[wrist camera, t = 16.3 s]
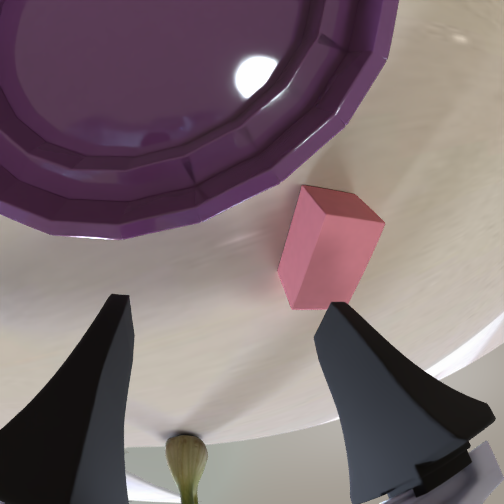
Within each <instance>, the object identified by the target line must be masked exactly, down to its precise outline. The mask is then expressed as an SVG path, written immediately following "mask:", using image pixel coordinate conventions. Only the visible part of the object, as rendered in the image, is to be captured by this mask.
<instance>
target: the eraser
mask: <svg viewBox="0 0 504 504" xmlns="http://www.w3.org/2000/svg"><path fill="white" fill-rule="evenodd" d="M384 226H385V222H384V221H383V220H382V219H381V218H380V217H379V216H378V215H377V214H376V213H375V212H374V211H373V210H372V209H370V208H369V207H368V206H367V205H366V204H365V203H364V202H363V201H362V200H361V199H360V198H359V197H358V196H357V195H355V194H351V193H346V192H341V191H335V190H330V189H324V188H318V187H312V186H306V185H302V187H301V190H300V194H299V198H298V201H297V205H296V208H295V212H294V215H293V219H292V222H291V226H290V229H289V233H288V236H287V240H286V243H285V246H284V250H283V253H282V257H281V260H280V263H279V267H278V270H277V271H278V274H279V277H280V279H281V282H282V285H283V288H284V290H285V293H286V296H287V298H288V301H289V304H290V307H291V309H292V310H322V309H328V307H329V305H330V303H331V302H346V303H347V304H348V303H349V301H350V299H351V297H352V295H353V293H354V291H355V289H356V287H357V285H358V283H359V281H360V279H361V277H362V275H363V273H364V271H365V269H366V266H367V264H368V262H369V260H370V258H371V256H372V253H373V251H374V249H375V247H376V244H377V242H378V240H379V238H380V235H381V233H382V231H383V228H384Z"/></svg>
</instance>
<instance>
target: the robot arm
mask: <svg viewBox="0 0 504 504" xmlns="http://www.w3.org/2000/svg"><path fill="white" fill-rule="evenodd" d="M314 341H315V346H316V351H317V355H318V359H319V362H320V365H321V368H322V370H323V373H324V376H325V378H326V381H327V384H328V386H329V389H330V391H331V394H332V397H333V399H334V402H335V405H336V408H337V411H338V414H339V417H340V422H341V425H342V430H343V434H344V440H345V446H346V451H347V457H348V466H349V475H350V498H351V501H352V504H361V503H363V502H367V501H369V500H372V499H375V498H378V497H380V496H382V495H385V494H388V497H389V499H388V500H386V501H384V502H382V503H379V504H483V502H484V501H485V500H486V498H487V497H488V496H489V495H490V494H491V493H492V492H493V490H494V489H495V488H496V487H497V486H498V485H499V484H500V483H501V482H502V481H503V480H504V477H503V474H502V472H501V470H500V468H499V465H498V463H497V460H496V458H495V456H494V454H493V451H492V449H491V447H490V445H489V443H488V441H485V442H483V443H482V444H480V445H479V446H477V447H476V448H474V449H473V450H472V451H471V452H469V453H468V451H467V449H468V448H470V446H471V445H470V443H469V440H470V439H471V438H473V437H475V436H476V435H477V434H479V433H480V432H481V431H483V430H484V429H485V428H487V427H488V426H489V425H490V424H492V423H493V422H494V421H495V419H496V418H495V416H494V414H493V412H492V411H491V409H490V407H489V406H488V404H487V403H484V402H481V401H479V400H476V399H474V398H471V397H469V396H466V395H464V394H462V393H460V392H458V391H456V390H454V389H452V388H450V387H449V386H447V385H445V384H443V383H442V382H440V381H439V380H437V379H435V378H434V377H432V376H431V375H429V374H428V373H426V372H425V371H423V370H422V369H421V368H419V367H418V366H417V365H415V364H414V363H413V362H411V361H410V360H409V359H408V358H406V357H405V356H404V355H403V354H402V353H400V352H399V351H398V350H397V349H396V348H395V347H393V346H392V345H391V344H390V343H389V342H388V341H387V340H386V339H385V338H384V337H382V336H381V335H380V334H379V333H378V332H377V331H376V330H375V329H374V328H373V327H372V326H371V325H370V324H369V323H368V322H367V321H366V320H364V319H363V318H362V317H361V316H360V315H359V314H358V313H357V312H356V311H355V310H354V309H353V308H351V307H350V306H349V305H348V304H347V303H346V302H331V303H330V305H329V307H328V309H327V311H326V313H325V316H324V318H323V320H322V322H321V324H320V326H319V328H318V330H317V332H316V334H315V336H314ZM133 349H134V329H133V322H132V314H131V306H130V298H129V295H119V294H111V295H110V296H109V297H108V299H107V301H106V302H105V304H104V306H103V307H102V309H101V310H100V312H99V314H98V315H97V317H96V318H95V320H94V321H93V323H92V324H91V326H90V327H89V329H88V330H87V332H86V333H85V334H84V336H83V337H82V339H81V340H80V342H79V343H78V345H77V346H76V347H75V349H74V350H73V351H72V353H71V354H70V355H69V357H68V358H67V359H66V361H65V362H64V363H63V365H62V366H61V367H60V369H59V370H58V371H57V372H56V374H55V375H54V376H53V377H52V378H51V379H50V381H49V382H48V383H47V384H46V385H45V386H44V388H43V389H42V390H41V391H40V392H39V393H38V394H37V395H36V396H35V397H34V399H33V400H32V401H31V402H30V403H29V404H28V405H27V406H26V407H25V408H24V409H23V410H22V411H20V412H19V413H18V414H17V415H16V416H15V417H14V418H13V419H12V420H11V421H10V422H9V423H8V424H7V425H5V426H4V427H3V428H2V429H1V430H0V504H129V503H128V495H127V486H126V476H125V461H124V417H125V409H126V401H127V394H128V388H129V381H130V375H131V369H132V363H133Z"/></svg>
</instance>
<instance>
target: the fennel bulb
mask: <svg viewBox="0 0 504 504" xmlns="http://www.w3.org/2000/svg"><path fill="white" fill-rule="evenodd" d="M165 454H166V459H167V463H168V466H169V470H170V472H171V475H172V477H173V479H174V481H175V483H176V486H177V488H178V490H179V493H180V497H181V504H198V498H197V487H198V483H199V480H200V478H201V476H202V474H203V471H204V469H205V465H206V462H207V458H208V452H207V449H206V446H205V444H204V443H203V441H201V440H200V439H199V438H198V437H195V436H189V435H179V436H176V437H173V438H169V439H168V440H167V442H166V451H165Z"/></svg>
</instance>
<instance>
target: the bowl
mask: <svg viewBox="0 0 504 504" xmlns="http://www.w3.org/2000/svg"><path fill="white" fill-rule="evenodd" d="M398 3H399V0H0V214H1V215H3V216H5V217H8V218H10V219H12V220H15V221H17V222H20V223H22V224H24V225H27V226H29V227H32V228H34V229H37V230H39V231H42V232H44V233H47V234H49V235H53V236H68V237H83V238H98V239H113V240H122V239H128V238H132V237H137V236H141V235H146V234H150V233H155V232H159V231H164V230H169V229H173V228H178V227H183V226H187V225H192V224H197V223H201V221H202V222H204V221H206V220H208V219H210V218H212V217H214V216H216V215H218V214H220V213H222V212H223V211H225V210H227V209H229V208H231V207H233V206H235V205H237V204H239V203H241V202H243V201H245V200H247V199H249V198H251V197H253V196H255V195H257V194H259V193H261V192H264V191H266V190H268V189H270V188H272V187H274V186H276V185H278V184H280V182H282V181H284V180H285V179H286V178H287V177H288V176H289V175H291V174H292V173H293V172H294V171H295V170H296V169H297V168H298V167H300V166H301V165H302V164H303V163H304V162H305V161H306V160H307V159H309V158H310V157H311V156H312V155H313V154H314V153H315V152H317V151H318V150H319V149H320V148H321V147H322V146H324V145H325V144H326V143H327V142H328V141H329V140H330V139H332V138H333V137H334V136H335V135H336V134H337V133H339V132H340V131H341V130H342V129H343V128H345V125H347V124H348V123H349V121H350V119H351V118H352V116H353V115H354V113H355V111H356V110H357V108H358V107H359V105H360V103H361V102H362V100H363V99H364V97H365V95H366V94H367V92H368V91H369V89H370V87H371V86H372V84H373V82H374V81H375V79H376V78H377V76H378V74H379V73H380V71H381V69H382V68H383V66H384V65H385V63H386V60H387V59H388V55H389V51H390V46H391V41H392V36H393V31H394V26H395V20H396V15H397V9H398Z"/></svg>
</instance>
